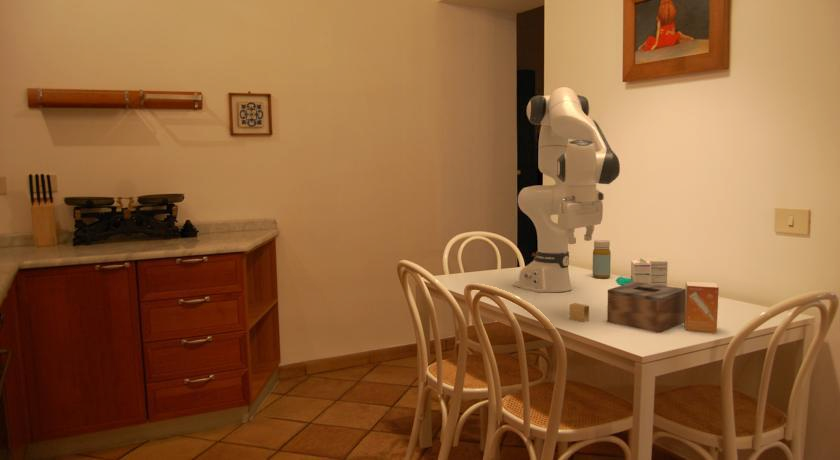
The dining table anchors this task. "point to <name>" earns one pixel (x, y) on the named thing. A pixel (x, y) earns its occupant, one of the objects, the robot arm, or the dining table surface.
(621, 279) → the cloth
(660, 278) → the supplement box
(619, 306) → the collection bin
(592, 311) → the dining table surface
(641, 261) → the syrup box
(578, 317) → the upright wooden block
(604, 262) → the bottle
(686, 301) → the small box
